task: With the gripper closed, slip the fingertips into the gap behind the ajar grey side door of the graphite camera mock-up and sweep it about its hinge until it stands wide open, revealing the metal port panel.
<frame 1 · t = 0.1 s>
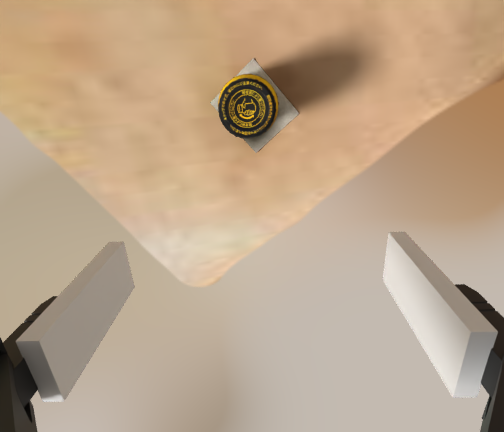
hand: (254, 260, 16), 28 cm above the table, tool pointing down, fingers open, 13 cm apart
condiment: (254, 107, 40), on the table
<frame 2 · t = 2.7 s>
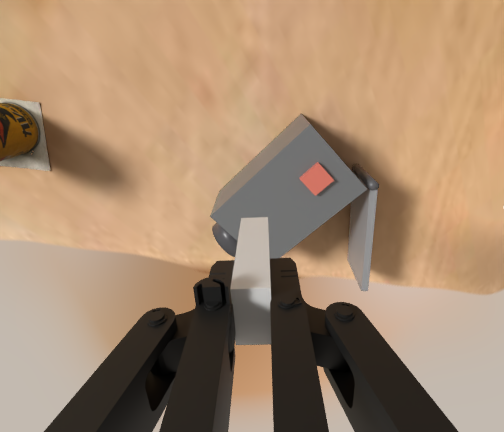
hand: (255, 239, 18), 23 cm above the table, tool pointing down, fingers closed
camera box: (282, 179, 41), on the table
condiment: (17, 134, 40), on the table
side door: (362, 226, 39), point 4 cm above the table, hinge at 50.0°
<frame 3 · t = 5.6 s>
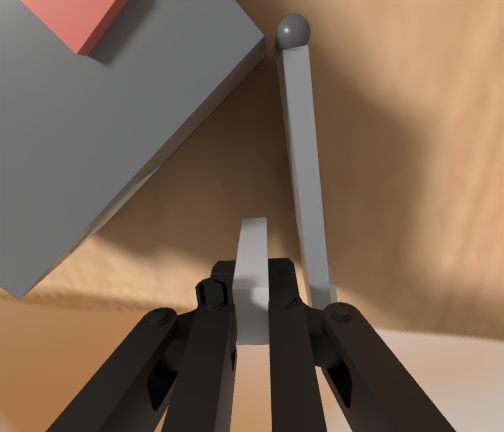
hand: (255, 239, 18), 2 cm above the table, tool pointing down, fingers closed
camera box: (116, 88, 17), on the table
side door: (308, 192, 15), point 4 cm above the table, hinge at 55.9°, touching gripper
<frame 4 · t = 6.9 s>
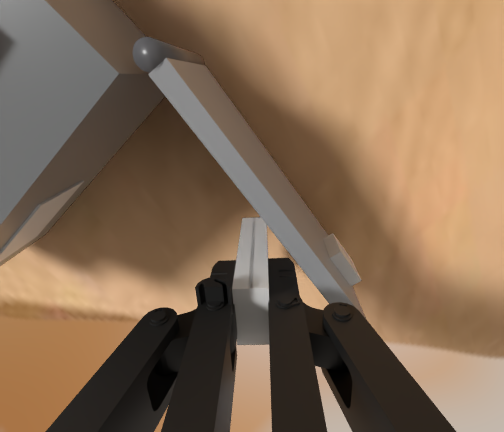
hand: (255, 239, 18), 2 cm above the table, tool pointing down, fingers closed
camera box: (41, 106, 18), on the table
side door: (272, 178, 15), point 4 cm above the table, hinge at 83.0°, touching gripper
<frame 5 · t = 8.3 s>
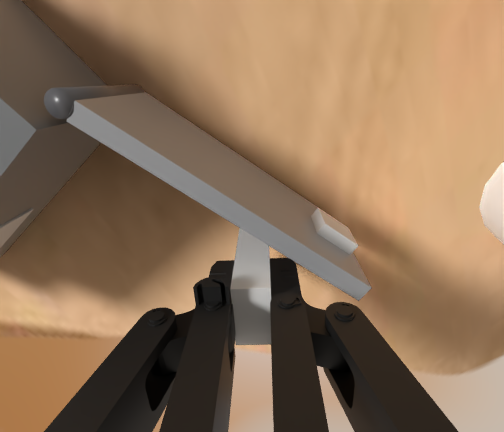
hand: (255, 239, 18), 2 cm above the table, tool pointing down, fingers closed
side door: (234, 174, 15), point 4 cm above the table, hinge at 103.3°
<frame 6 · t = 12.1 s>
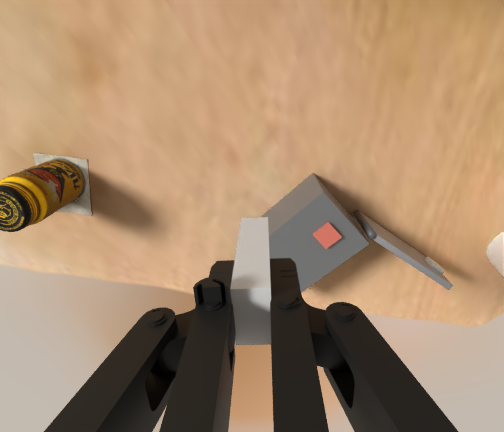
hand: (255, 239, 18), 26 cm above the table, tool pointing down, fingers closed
camera box: (294, 226, 47), on the table
condiment: (65, 184, 46), on the table
side door: (401, 246, 43), point 4 cm above the table, hinge at 103.3°
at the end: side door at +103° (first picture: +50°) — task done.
